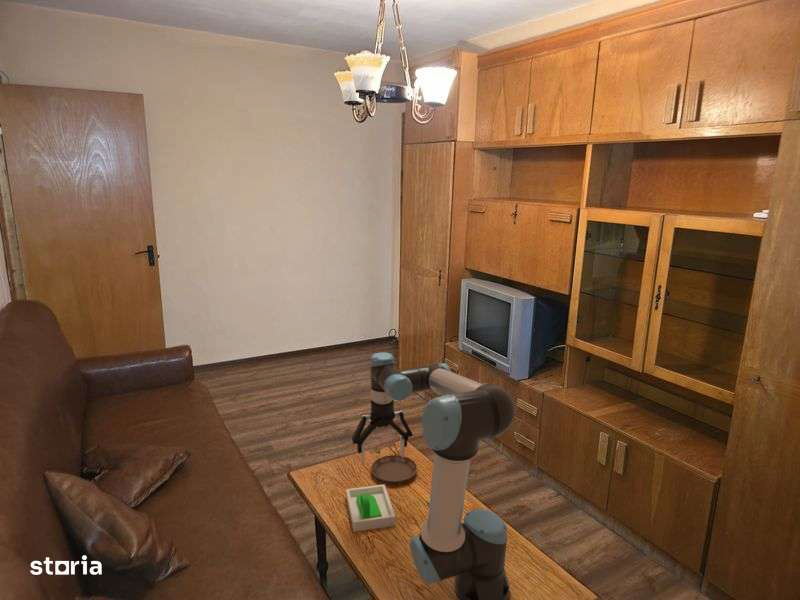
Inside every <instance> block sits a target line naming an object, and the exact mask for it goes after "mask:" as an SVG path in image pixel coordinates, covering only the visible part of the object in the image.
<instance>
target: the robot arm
mask: <svg viewBox="0 0 800 600" xmlns="http://www.w3.org/2000/svg"><path fill="white" fill-rule="evenodd" d="M395 363H396V362H395V357H394V355H393V354H392V353H389V352H384V351H383V352H376V353H373V354H372V355H371V357H370V365H369V367H370V414H365V413H361V415H360V421H359V423H358V425H357V427H356V428H355V431H354V433H353V435H352V436H351V441H352V444H354V445H355V444H356V447H357V452H358V454H360V461H361V463H362V464H364V463H365V443H364V442H365V440H366V439H367V438H369V436H370V435H371V433H372V432H373V431H374V430H376V428H383V427H385V428H387V427H388V426H391V427H392V429H394V430H395V431H396V432H397V433H398V434H399V435H400V436H399V454H400V456H402V457H404V456H405V448H406V447H407V446H408V440H409V438H412V437H413V436H414V435H413V432H412V431H411V429H410V427H409V425H408V423H407V422H406V420H405V419H406V418H405V416H404V413H403V411H402V409H398V410H397V411H395V401H397V402H399V401H400V402H401V401H405V400H406V399H408V397H409V398H410V396H411V394H414V393H417V392H418V393H419V392H425V391H426V392H427V391H432V392H434V393H436V394H438V395H440V396H438V397H433V398H432V399H430V400H429V401H428V402H427V403H426V405H425V406H424V409H423V412H422V416H421V427H422V429H423V430H422V435H423V438H424V441H425V443H426V444H427V446H428V447H429V448H430V450H431V452H433V454H434V457H433V466H432V467H433V468H432V474H431V476H432V477H431V486H430V495H429V505H428V512H427V519H425V520H424V521H423V522H422V524H421V526H420V532H419V533H420V534H419V535H415V536H414V537H412V538H411V539H410V543H409V545H410V552H411V555H412V556H411V557H412V560H413V563H414V565H415V568H416V571H417V573H418V574H419V576H420V578H421V579H422V581H423V582H425V583H426V584H429V585H431V584H435V583H438V582H439V583H440V582H442V581H445V580H448V579H450V578H452V577H455V578H454V591H455V594H456V596H457V597H458V599H459V600H509V597H510V596H509V595H510V582H509V579H508V577H507V572H506V570H505V569H506V568H505V564H506V553H507V552H506V550H507V542H508V527H507V525H506V523H505V521H504V520H503V518H502V517H500V516H499V515H498V514H497V513H494V512H492V511H490V510H487V509H483V508H479V509H478V508H475V509H471V510H469V511H467V512H466V513H465V516H464V517H463V513H464V505H465V498H466V492H467V485H468V476H469V471H470V463H471V460H472V459H474V458H475V457H476V456H477V454H478V451H479V446H480V441H484V440H487V439H488V440H489V439H491V438H496V437H498V436H500V435H502V434H504V433H505V432H507V431H508V430H509V429H510V427H511V426H512V425H513V424H514V420H515V418H516V412H517V411H516V404H515V403H516V402H515V400H514V398H513V396H512V395H511V393H509V391H507V390H506V389H505V388H504V387H502V386H500V385H497V384H494V383H491V382H484V383H480V382H478V381H475V380H473V379H470V378H469V377H465V376H463V375H459V374H457V373H456V372H452V370H451V368H450V367H449V365H448V364H446V363H434V364H428V365H422V366H421V365H420V366H417V367H411V368H410V367H408V368H402V369H398V368H396V366H395ZM395 418H398V419H399V420H400V422H401V423H402V425H403V427H404V428H405V430H406V432H405V431H404V430H403V428H401V427H400V426H399V425H398V424H397V423H396V422H395V421H394V419H395ZM369 420H370V421H369ZM368 421H369V423H368ZM366 423H368V425H367V427H366V428H365V426H366ZM364 428H365V429H364ZM462 521H463V522H462Z"/></svg>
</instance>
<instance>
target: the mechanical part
mask: <svg viewBox="0 0 800 600" xmlns="http://www.w3.org/2000/svg"><path fill="white" fill-rule="evenodd" d="M356 499H357V504H358V507H359V510H360V513H361V516H362V518H363V519H368V518H375V517H382V514H381V512H380V509H379V507H378V504H377V502H376V499H375V497H374V496H372V495H369V494H365V495H360V496H356Z"/></svg>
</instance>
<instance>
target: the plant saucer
mask: <svg viewBox="0 0 800 600" xmlns="http://www.w3.org/2000/svg"><path fill="white" fill-rule="evenodd" d="M417 470H418V466H417V463H416V462H415V460H412V458H410V457H407V456H405V455H404V457H402V456H401V454H400V455H399V454H391V455H390V454H389V455H385V456H382V457H379V458H377V459H376V460H375V461H374V462H373V463H372V464H371V466H370V472H371V474H372V475H373V477H374V478H376V479H377V480H378V481H380V482H382V483H384V484H388V485H400V484H404V483H406V482H408V481H409V480H411V479H412V478H413V477H414V476H415V474H416V472H417Z"/></svg>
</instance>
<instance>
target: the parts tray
mask: <svg viewBox="0 0 800 600" xmlns="http://www.w3.org/2000/svg"><path fill="white" fill-rule="evenodd" d="M365 494H369V495H372V496H374V497H375V499H376V502H377V504H378V507H379V509H380V512H381V514H382V517H375V518H368V519H363V518H362V516H361V513H360V510H359V507H358V504H357V499H356V496H360V495H365ZM345 498H346V499H345V500H346V504H347V508H348V509H347V510H348V513H349V518H350V522H351V528H352V532H353V533H354V532H360V531H367V530H368V531H369V530H376V529H382V528H388V527H395V526H396V514H395V511H394V508H393V506H392V505H393V504H392V502H391V499H390V496H389V493H388V491H387V487H386V483H384V484H378V485H368V486H362V487H361V486H360V487H354V488H346V489H345Z"/></svg>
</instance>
